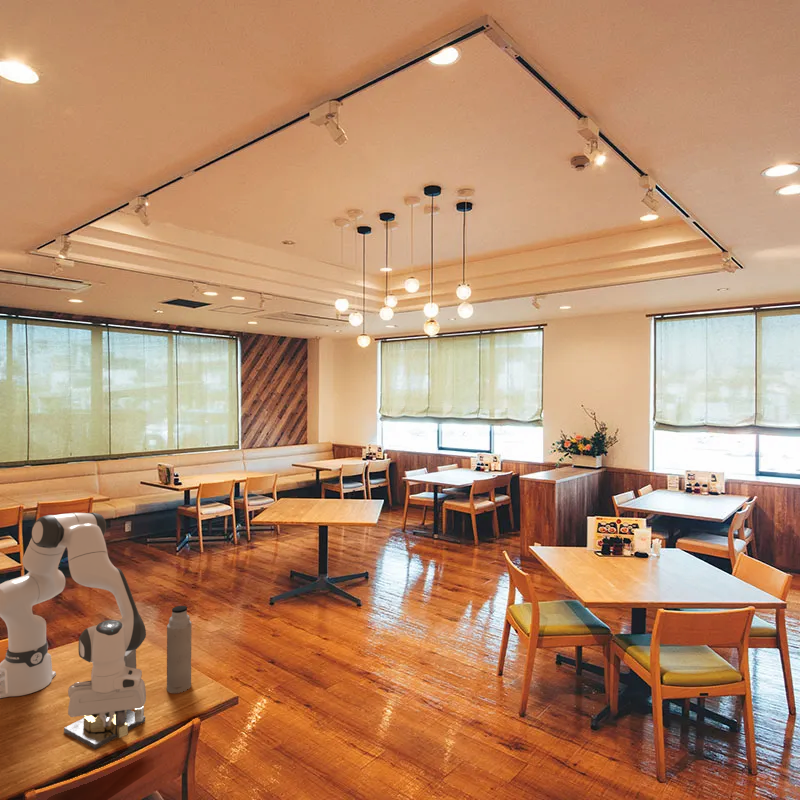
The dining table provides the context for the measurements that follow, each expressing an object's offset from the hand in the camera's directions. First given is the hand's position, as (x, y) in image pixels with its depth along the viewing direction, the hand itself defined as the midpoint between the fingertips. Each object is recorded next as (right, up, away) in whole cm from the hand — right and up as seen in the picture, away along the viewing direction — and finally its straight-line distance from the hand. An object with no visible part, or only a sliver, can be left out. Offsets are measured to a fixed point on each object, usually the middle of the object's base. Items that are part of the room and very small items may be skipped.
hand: (107, 725), depth 162 cm
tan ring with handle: (-2, -3, +6) cm, 7 cm away
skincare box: (-8, -5, +25) cm, 26 cm away
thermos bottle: (+9, -5, +31) cm, 33 cm away
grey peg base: (-5, -5, +8) cm, 11 cm away
